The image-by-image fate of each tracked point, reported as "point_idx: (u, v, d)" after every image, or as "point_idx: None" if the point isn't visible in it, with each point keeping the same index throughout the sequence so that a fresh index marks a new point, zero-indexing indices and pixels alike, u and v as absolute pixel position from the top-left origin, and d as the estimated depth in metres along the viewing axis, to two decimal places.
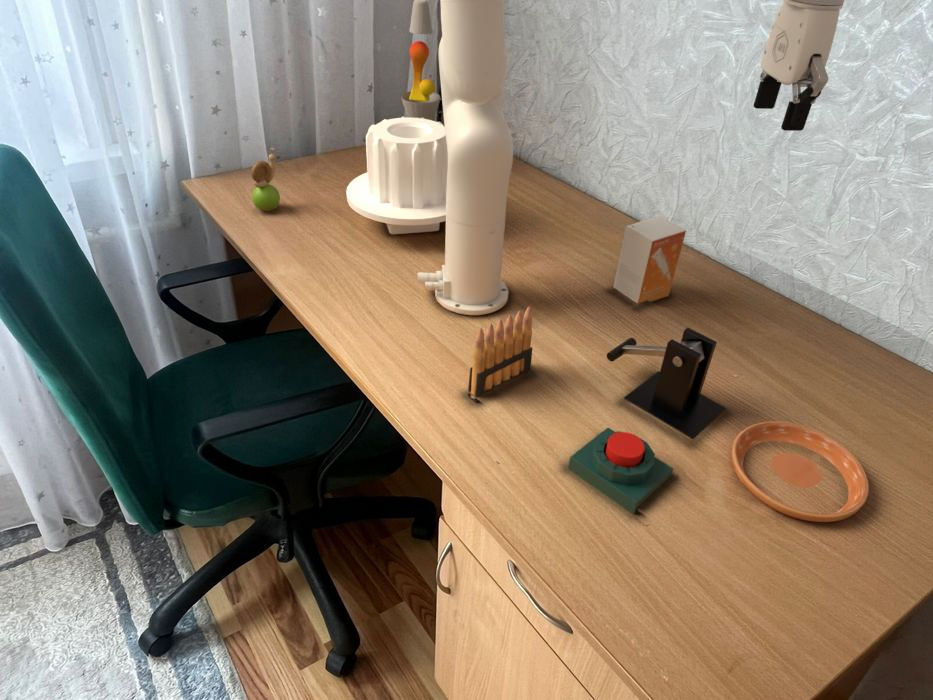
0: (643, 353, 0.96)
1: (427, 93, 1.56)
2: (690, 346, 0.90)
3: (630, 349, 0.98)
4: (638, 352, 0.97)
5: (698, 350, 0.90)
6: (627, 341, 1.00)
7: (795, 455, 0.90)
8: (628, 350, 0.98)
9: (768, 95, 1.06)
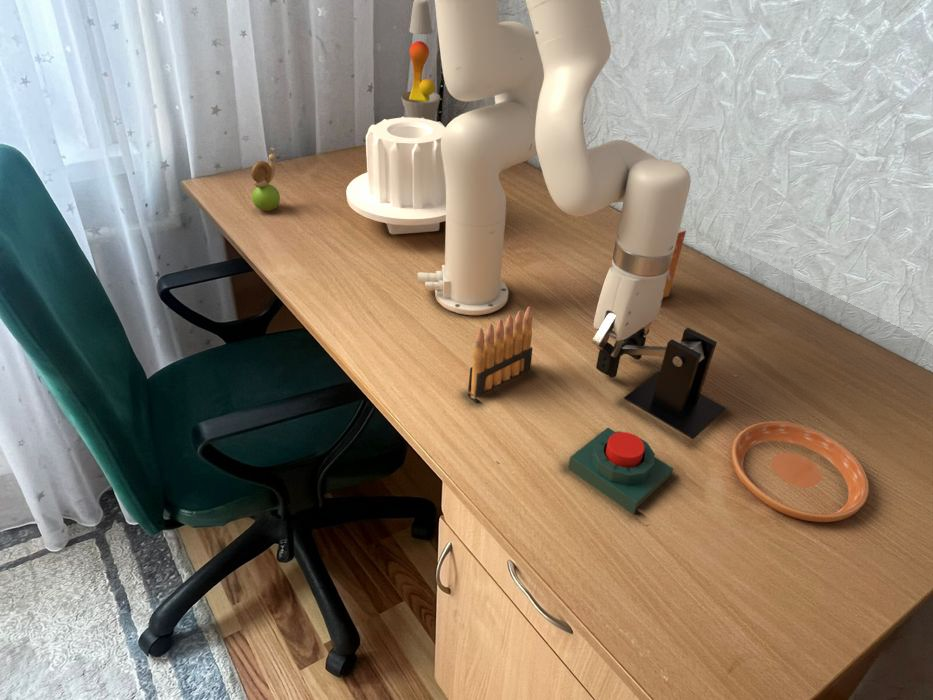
0: (643, 353, 0.96)
1: (427, 93, 1.56)
2: (690, 346, 0.90)
3: (630, 349, 0.98)
4: (638, 352, 0.97)
5: (698, 350, 0.90)
6: (627, 341, 1.00)
7: (795, 455, 0.90)
8: (628, 350, 0.98)
9: None
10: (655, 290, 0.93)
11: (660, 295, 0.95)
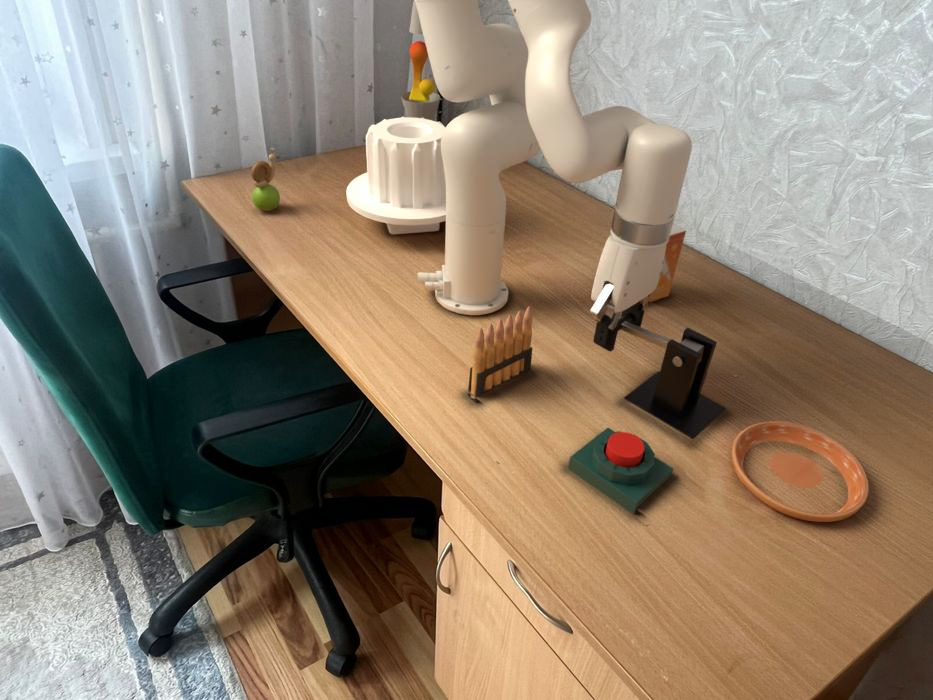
0: (642, 337, 0.95)
1: (427, 93, 1.56)
2: (693, 349, 0.90)
3: (629, 328, 0.96)
4: (637, 334, 0.96)
5: None
6: (627, 316, 0.98)
7: (795, 455, 0.90)
8: (627, 328, 0.97)
9: None
10: (654, 261, 0.91)
11: (659, 266, 0.93)
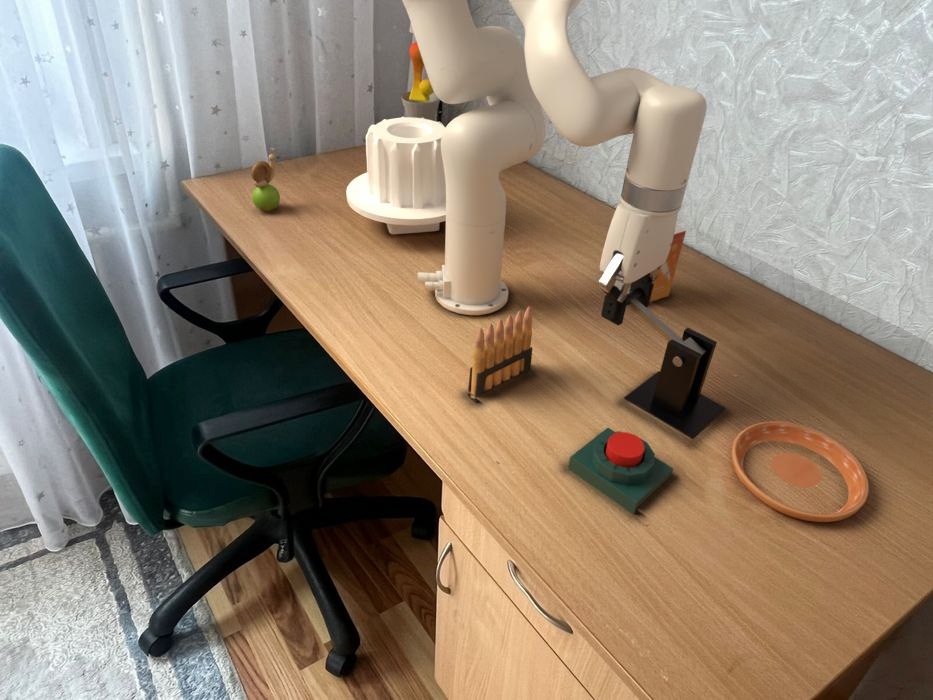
0: (647, 320, 0.94)
1: (427, 93, 1.56)
2: None
3: (637, 308, 0.94)
4: (643, 316, 0.94)
5: None
6: (637, 293, 0.95)
7: (795, 455, 0.90)
8: (635, 307, 0.94)
9: None
10: (665, 230, 0.88)
11: (670, 237, 0.90)
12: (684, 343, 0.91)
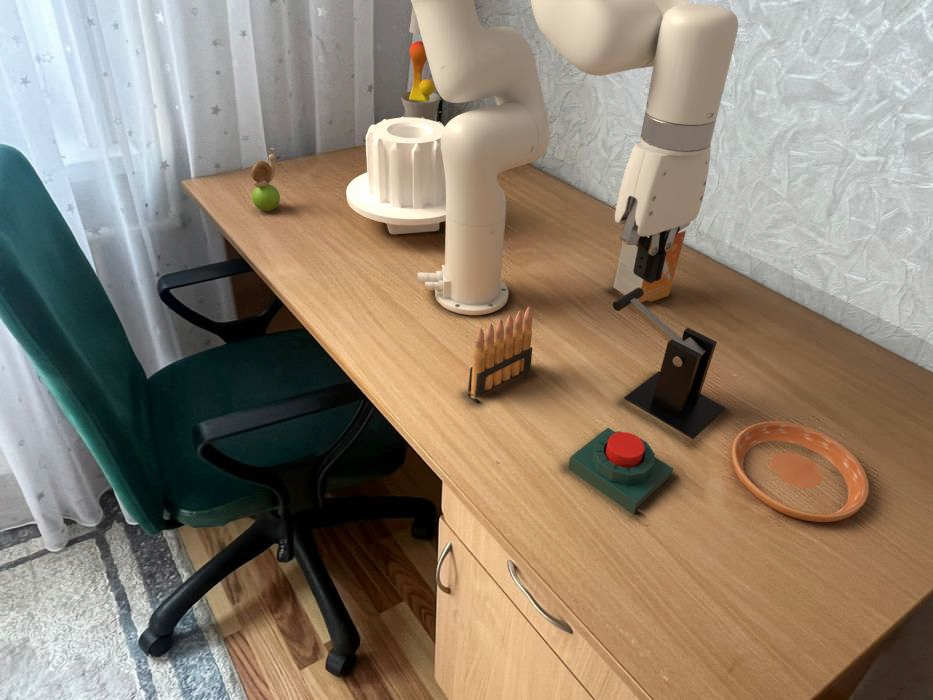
0: (647, 320, 0.94)
1: (427, 93, 1.56)
2: None
3: (637, 308, 0.94)
4: (643, 316, 0.94)
5: None
6: (637, 293, 0.95)
7: (795, 455, 0.90)
8: (635, 307, 0.94)
9: None
10: (691, 177, 0.77)
11: (699, 188, 0.79)
12: (684, 343, 0.91)
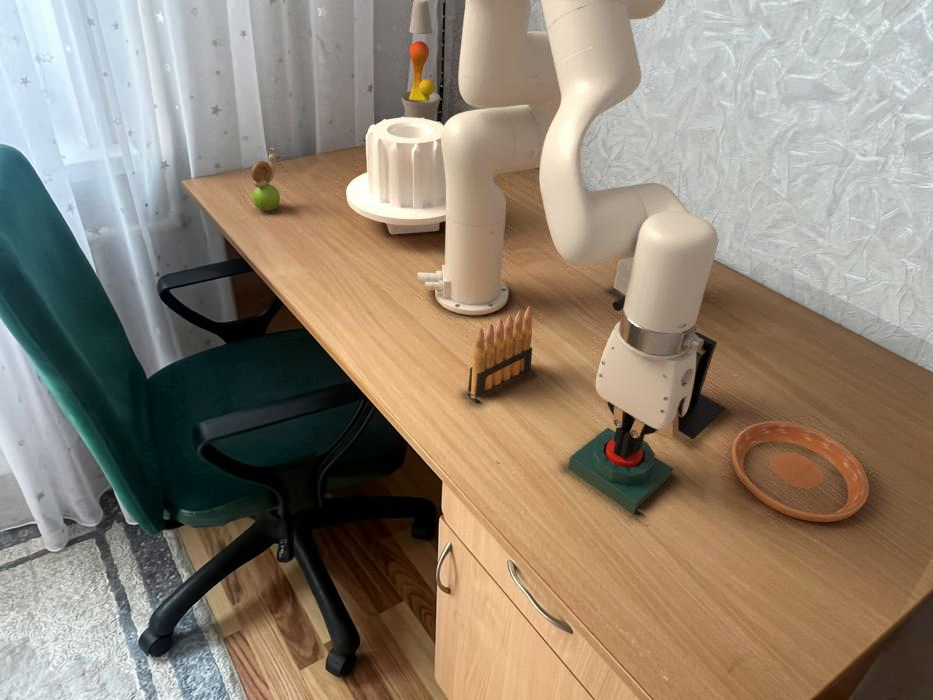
0: None
1: (427, 93, 1.56)
2: None
3: None
4: None
5: None
6: None
7: (795, 455, 0.90)
8: None
9: None
10: (642, 375, 0.74)
11: (658, 398, 0.74)
12: None
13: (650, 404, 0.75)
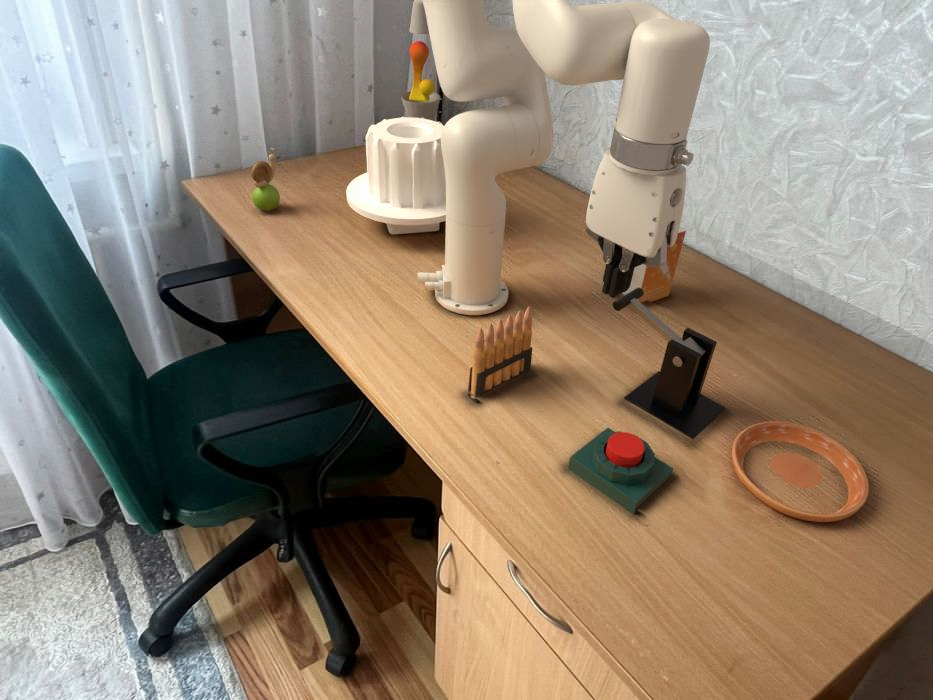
0: (647, 320, 0.94)
1: (427, 93, 1.56)
2: None
3: (637, 308, 0.94)
4: (643, 316, 0.94)
5: None
6: (637, 293, 0.95)
7: (795, 455, 0.90)
8: (635, 307, 0.94)
9: None
10: (632, 197, 0.74)
11: (647, 220, 0.75)
12: (684, 343, 0.91)
13: (639, 228, 0.76)
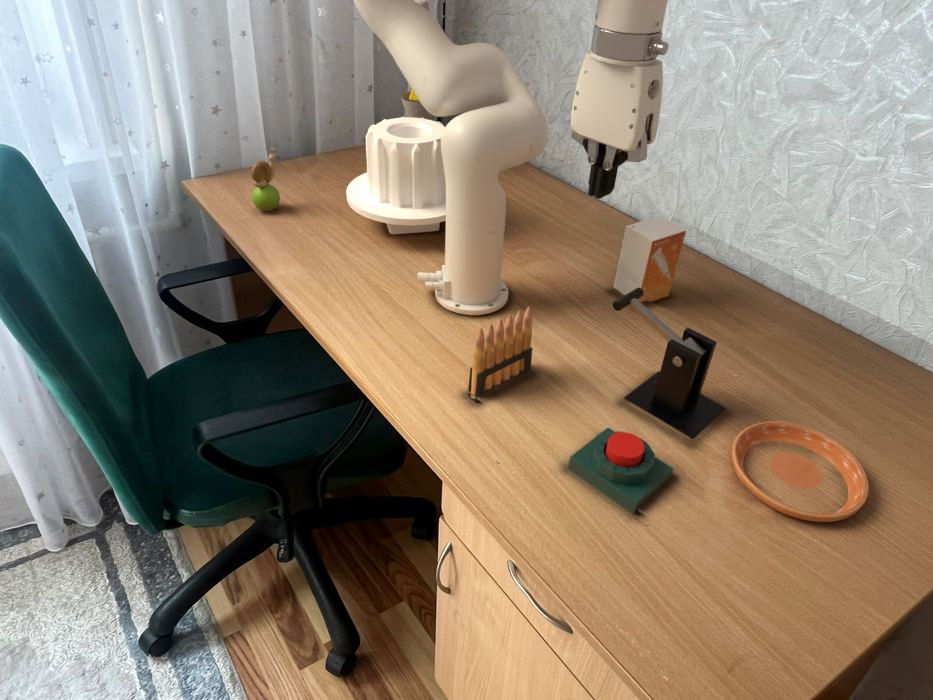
0: (647, 320, 0.94)
1: None
2: None
3: (637, 308, 0.94)
4: (643, 316, 0.94)
5: None
6: (637, 293, 0.95)
7: (795, 455, 0.90)
8: (635, 307, 0.94)
9: None
10: (612, 91, 0.79)
11: (627, 112, 0.79)
12: (684, 343, 0.91)
13: (620, 122, 0.80)
